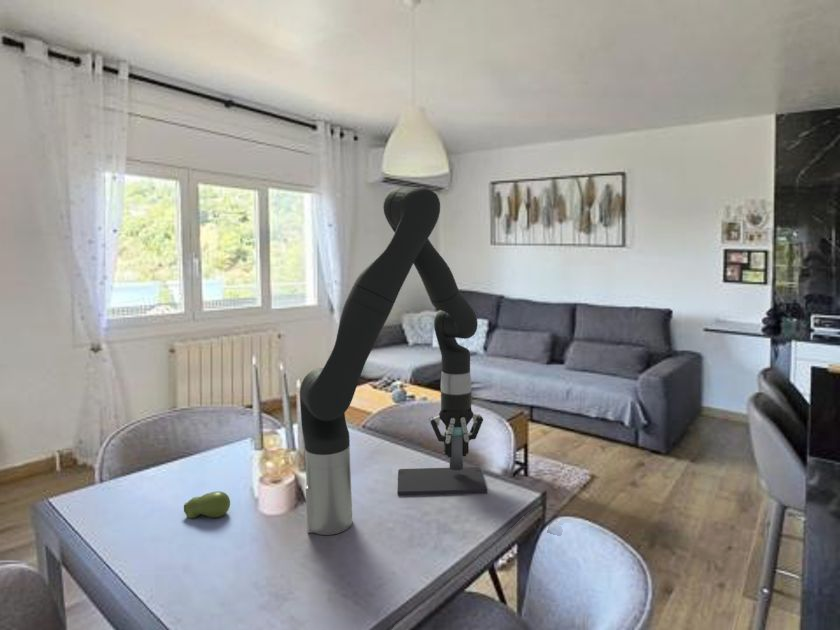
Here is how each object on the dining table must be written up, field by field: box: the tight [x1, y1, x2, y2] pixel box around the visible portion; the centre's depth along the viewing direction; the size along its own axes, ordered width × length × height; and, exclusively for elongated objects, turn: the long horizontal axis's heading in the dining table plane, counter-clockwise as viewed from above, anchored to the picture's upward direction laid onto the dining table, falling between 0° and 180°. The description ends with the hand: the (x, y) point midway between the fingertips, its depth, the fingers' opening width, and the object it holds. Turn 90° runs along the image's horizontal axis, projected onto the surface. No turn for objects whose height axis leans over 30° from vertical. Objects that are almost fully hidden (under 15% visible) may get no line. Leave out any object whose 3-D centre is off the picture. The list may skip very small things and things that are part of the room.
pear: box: [183, 491, 231, 519], centre depth 116 cm, size 6×5×10 cm
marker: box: [449, 427, 464, 470], centre depth 131 cm, size 4×4×11 cm
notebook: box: [396, 466, 488, 497], centre depth 130 cm, size 13×2×21 cm
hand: (456, 455), depth 132 cm, fingers closed on marker, 3 cm apart
